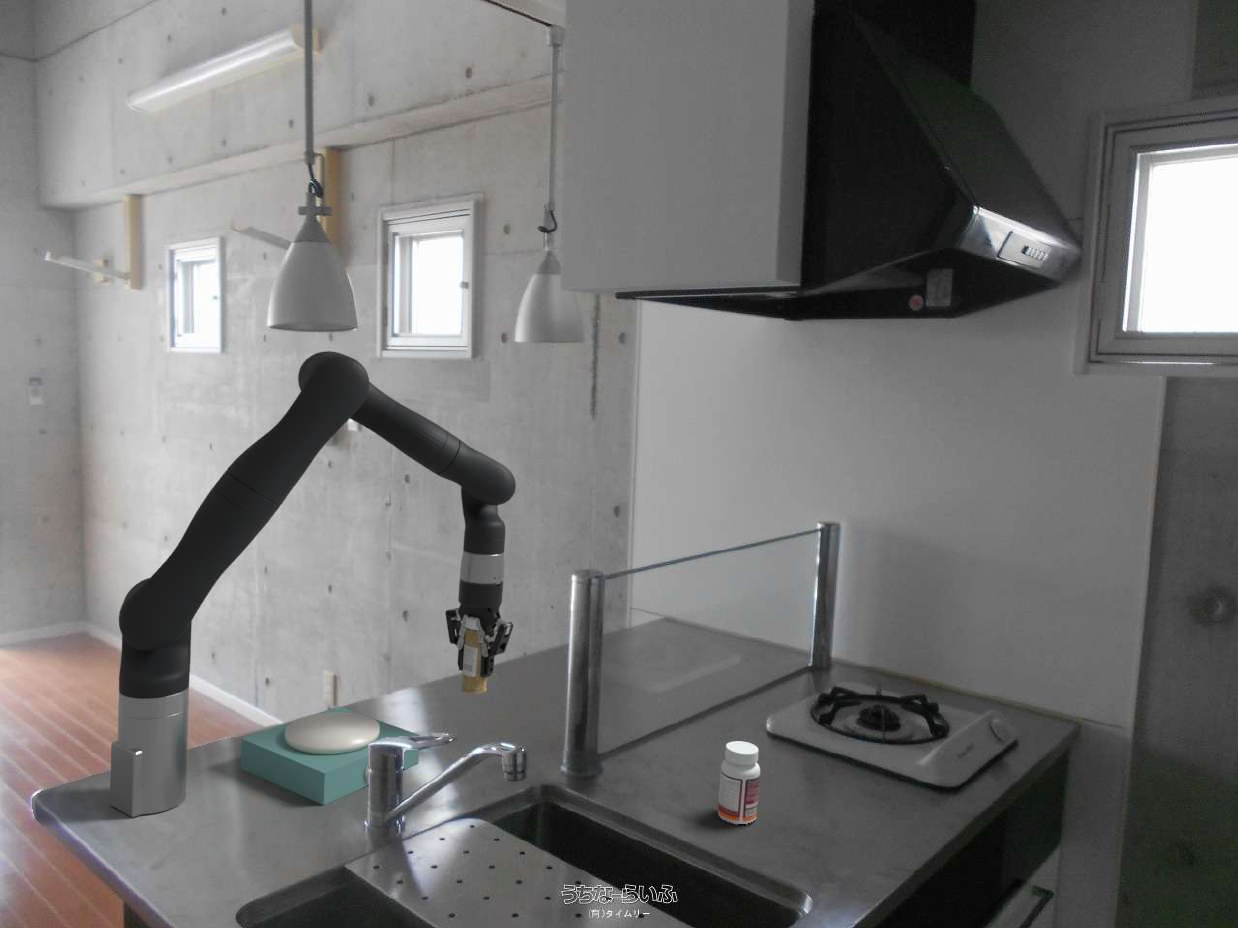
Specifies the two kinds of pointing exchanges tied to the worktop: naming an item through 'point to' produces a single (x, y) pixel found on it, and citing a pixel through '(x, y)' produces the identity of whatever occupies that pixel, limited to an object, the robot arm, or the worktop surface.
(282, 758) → the scale
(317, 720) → the scale pan
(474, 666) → the sprinkles bottle
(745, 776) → the pill bottle
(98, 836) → the worktop surface
